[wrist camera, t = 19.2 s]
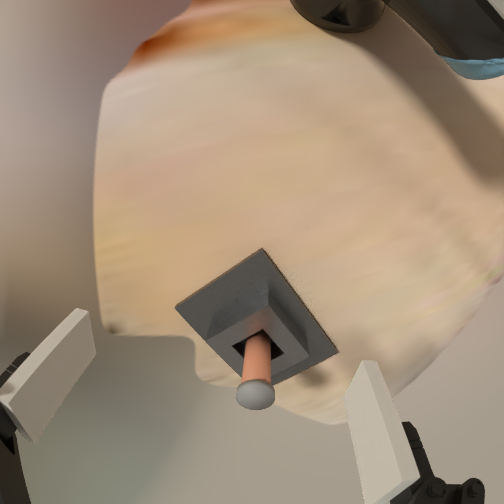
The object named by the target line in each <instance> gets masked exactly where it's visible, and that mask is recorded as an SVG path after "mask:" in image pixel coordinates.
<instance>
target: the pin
mask: <svg viewBox="0 0 504 504" xmlns="http://www.w3.org/2000/svg"><path fill="white" fill-rule="evenodd" d="M236 400H237V402H238V403H239V404H240V405H241V406H243V407H244V408H247V409H251V410H262V409H265V408H268V407H269V406H271V405H272V404H273V403H274V401H275V390H274V388H273V386H272V385H271V338H270V336H269V335H268V334H267V333H266V332H265V331H264V329H262V330H260V331H258V332H256V333H254V334H253V335H251V336H249V337H247V338H246V347H245V356H244V365H243V374H242V383H241V384H240V385H239V386H238V388H237V393H236Z"/></svg>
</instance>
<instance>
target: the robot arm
mask: <svg viewBox="0 0 504 504" xmlns="http://www.w3.org/2000/svg"><path fill="white" fill-rule="evenodd" d="M290 1H291V3H292V5H293V6H294V8H295V9H296V10H297V11H298V12H299V13H300V14H301V15H302V16H303V17H304V18H306V19H307V20H308V21H310V22H312V23H313V24H315V25H317V26H319V27H322V28H324V29H327V30H331V31H335V32H341V33H356V32H361V31H364V30H367V29H369V28H370V27H372V26H373V25H374V24H375V23H376V22H377V21H378V20H379V19H380V17H381V16H382V14H383V11H384V7H385V4H386V5H387V6H389V7H390V8H391V9H392V10H393V11H395V12H396V13H397V14H398V15H399V16H400V17H402V18H403V19H404V20H405V21H406V22H407V23H408V24H409V25H410V26H411V27H413V28H414V29H415V30H416V31H417V32H418V33H419V34H420V35H421V36H422V37H423V38H424V39H425V40H426V41H427V42H428V43H429V44H430V45H431V46H432V47H433V50H434V52H435V53H436V54H437V55H438V56H440V57H441V58H442V59H444V60H445V61H446V63H447V64H448V65H449V66H450V67H451V68H452V69H453V70H454V71H455V72H456V73H457V74H459V75H461V76H463V77H464V78H467V79H472V80H486V79H491V78H496V77H499V76H502V75H504V0H290ZM95 355H96V350H95V345H94V340H93V335H92V329H91V324H90V317H89V312H88V311H85V310H82V309H79V308H76V309H75V310H74V311H73V312H72V313H71V314H70V315H69V316H68V317H67V318H66V319H65V320H64V321H63V322H62V323H61V324H60V325H59V326H58V327H57V328H56V329H55V330H54V331H53V332H52V333H51V334H50V335H49V336H48V337H47V338H46V339H45V340H44V341H43V342H42V343H41V344H40V345H39V346H38V347H37V348H36V349H35V350H34V351H33V352H32V353H31V354H30V353H28V352H26V353H24V354H22V355H20V356H18V357H17V358H16V359H15V360H14V362H12V364H11V365H10V366H9V367H8V368H7V369H6V371H4V372H3V373H2V375H1V376H0V504H31V501H30V498H29V494H28V491H27V487H26V484H25V479H24V475H23V471H22V466H21V461H20V456H19V450H18V444H17V438H16V435H15V433H14V432H15V431H16V429H18V431H19V432H20V433H21V435H22V436H23V437H25V438H26V439H28V440H29V441H31V442H32V443H34V444H36V442H37V441H38V439H39V437H40V436H41V434H42V433H43V431H44V429H45V428H46V426H47V425H48V423H49V422H50V420H51V419H52V417H53V416H54V414H55V413H56V411H57V409H58V408H59V406H60V405H61V403H62V402H63V401H64V399H65V398H66V396H67V395H68V393H69V392H70V390H71V388H72V387H73V386H74V384H75V383H76V381H77V380H78V379H79V377H80V376H81V375H82V373H83V372H84V370H85V369H86V367H87V366H88V365H89V363H90V362H91V361H92V359H93V358H94V356H95ZM343 402H344V406H345V410H346V415H347V419H348V423H349V428H350V432H351V437H352V441H353V446H354V451H355V456H356V460H357V465H358V470H359V475H360V481H361V486H362V491H363V497H364V502H365V504H386V503H388V502H389V501H390V504H484V498H485V489H484V485H483V483H482V482H481V481H480V480H479V479H477V478H470V479H468V480H467V481H466V482H464V483H463V484H462V485H461V484H460V485H459V484H446V483H445V482H444V481H443V480H442V479H440V478H437V477H435V476H434V474H433V472H432V469H431V466H430V464H429V461H428V458H427V455H426V453H425V450H424V448H423V445H422V442H421V441H420V437H419V435H418V432H417V430H416V428H415V427H414V426H413V425H412V424H411V423H410V422H401V420H400V418H399V415H398V413H397V410H396V408H395V405H394V402H393V400H392V397H391V395H390V392H389V390H388V388H387V385H386V383H385V380H384V378H383V376H382V373H381V371H380V369H379V366H378V364H377V362H376V361H375V360H362V361H361V363H360V365H359V367H358V369H357V371H356V374H355V376H354V377H353V379H352V381H351V383H350V385H349V387H348V389H347V391H346V393H345V395H344V397H343Z"/></svg>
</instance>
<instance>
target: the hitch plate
mask: <svg viewBox="0 0 504 504" xmlns="http://www.w3.org/2000/svg"><path fill="white" fill-rule="evenodd" d="M175 309H176V310H177V311H178V312H179V314H180V315H181V316H182V317H183V318H184V319H185V320H186V321H187V322H188V323H189V325H190V326H191V327H192V328H193V329H194V330H195V331H196V332H197V333H198V334H199V335H200V336H201V337H202V338H203V339H204V340H205V342H206V343H207V344H208V345H209V346H210V347H211V348H212V349H213V350H214V351H215V352H216V353H217V354H218V355H219V356H220V357H221V358H222V359H223V360H224V361H225V362H226V363H227V364H228V365H229V366H230V367H231V368H232V369H233V370H234V371H235V372H236V373H237V374H239V375H240V376H241V377H242V374H243V365H244V356H245V347H246V338H247V337H249V336H251V335H253V334H254V333H256V332H258V331H260V330H262V329H264V331H265V332H266V333H267V334H268V335H269V336H270V338H271V385H274V384H276V383H278V382H280V381H282V380H285V379H287V378H289V377H291V376H293V375H295V374H297V373H299V372H301V371H303V370H305V369H307V368H309V367H311V366H313V365H315V364H317V363H319V362H321V361H323V360H325V359H326V358H328V357H330V356H332V355H334V354H336V353H337V349H336V347H335V346H334V345H333V343H332V342H331V341H330V339H329V338H328V336H327V335H326V334H325V332H324V331H323V330H322V328H321V327H320V326H319V324H318V323H317V321H316V320H315V319H314V317H313V316H312V315H311V313H310V312H309V311H308V309H307V308H306V307H305V305H304V304H303V302H302V301H301V300H300V298H299V297H298V296H297V294H296V293H295V292H294V290H293V289H292V288H291V286H290V285H289V284H288V282H287V281H286V279H285V278H284V277H283V275H282V274H281V273H280V271H279V270H278V269H277V267H276V266H275V265H274V263H273V262H272V261H271V259H270V258H269V257H268V255H267V254H266V253H265V251H264V250H263V249H262V248H261V249H259V250H258V251H256V252H255V253H253V254H252V255H250V256H249V257H247V258H246V259H244V260H243V261H241V262H240V263H238V264H237V265H235V266H234V267H232V268H231V269H229V270H228V271H226V272H225V273H223V274H222V275H220V276H219V277H217V278H216V279H214V280H213V281H211V282H210V283H208V284H207V285H205V286H204V287H202V288H201V289H199V290H198V291H196V292H195V293H193V294H192V295H190V296H189V297H187V298H186V299H184V300H183V301H181V302H180V303H178V304H177V305H176V306H175Z"/></svg>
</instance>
